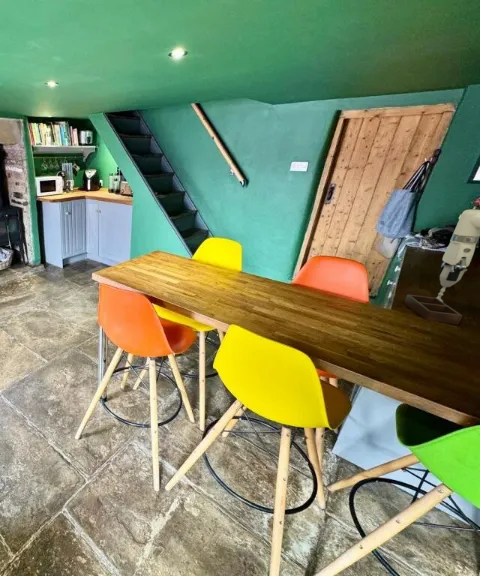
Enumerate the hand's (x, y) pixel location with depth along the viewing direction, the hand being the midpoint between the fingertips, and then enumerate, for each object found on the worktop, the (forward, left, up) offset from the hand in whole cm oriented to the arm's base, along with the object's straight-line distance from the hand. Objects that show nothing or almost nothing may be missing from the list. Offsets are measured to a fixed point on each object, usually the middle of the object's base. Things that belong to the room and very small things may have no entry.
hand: (446, 277), depth 136 cm
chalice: (0, 0, -13) cm, 13 cm away
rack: (+8, +16, -13) cm, 22 cm away
